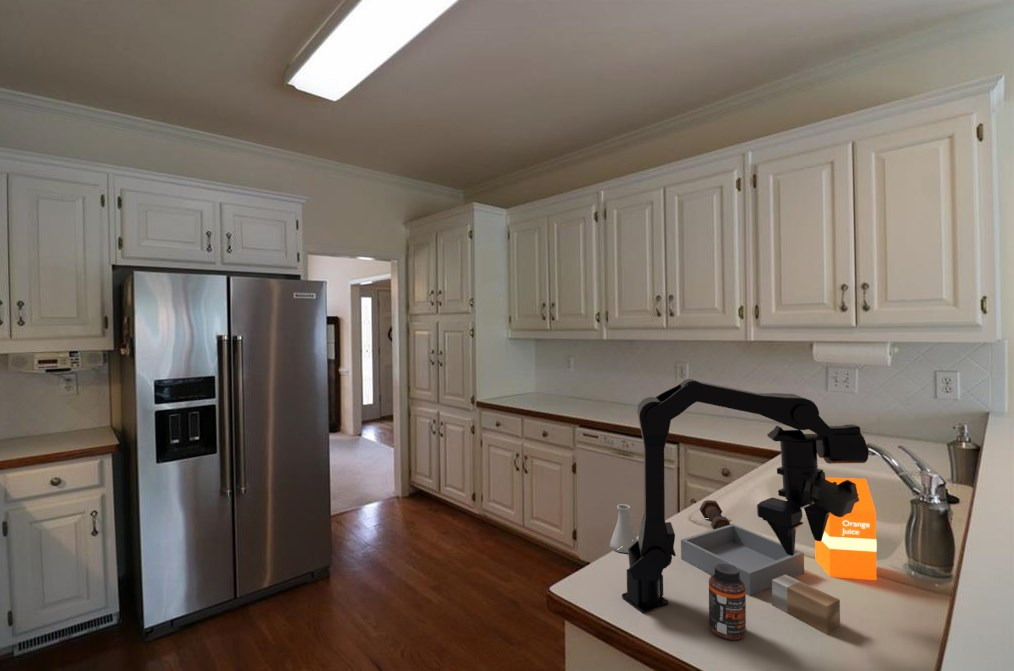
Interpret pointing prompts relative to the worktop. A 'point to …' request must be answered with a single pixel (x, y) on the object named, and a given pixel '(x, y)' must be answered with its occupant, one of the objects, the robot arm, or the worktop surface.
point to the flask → (623, 531)
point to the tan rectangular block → (806, 604)
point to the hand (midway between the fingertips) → (804, 547)
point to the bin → (742, 556)
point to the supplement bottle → (727, 602)
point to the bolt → (713, 514)
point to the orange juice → (850, 538)
